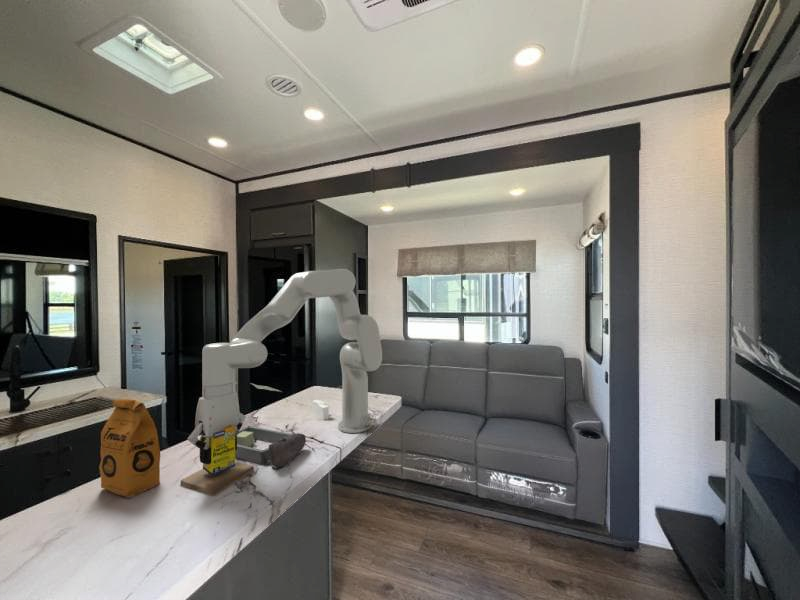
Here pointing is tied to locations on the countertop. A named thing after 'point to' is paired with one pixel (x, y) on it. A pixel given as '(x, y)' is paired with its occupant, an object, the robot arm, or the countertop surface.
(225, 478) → the pad
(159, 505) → the countertop surface
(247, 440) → the olive block
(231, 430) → the supplement box
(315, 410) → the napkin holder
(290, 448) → the perforated stone tool
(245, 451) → the bin
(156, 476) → the coffee package
